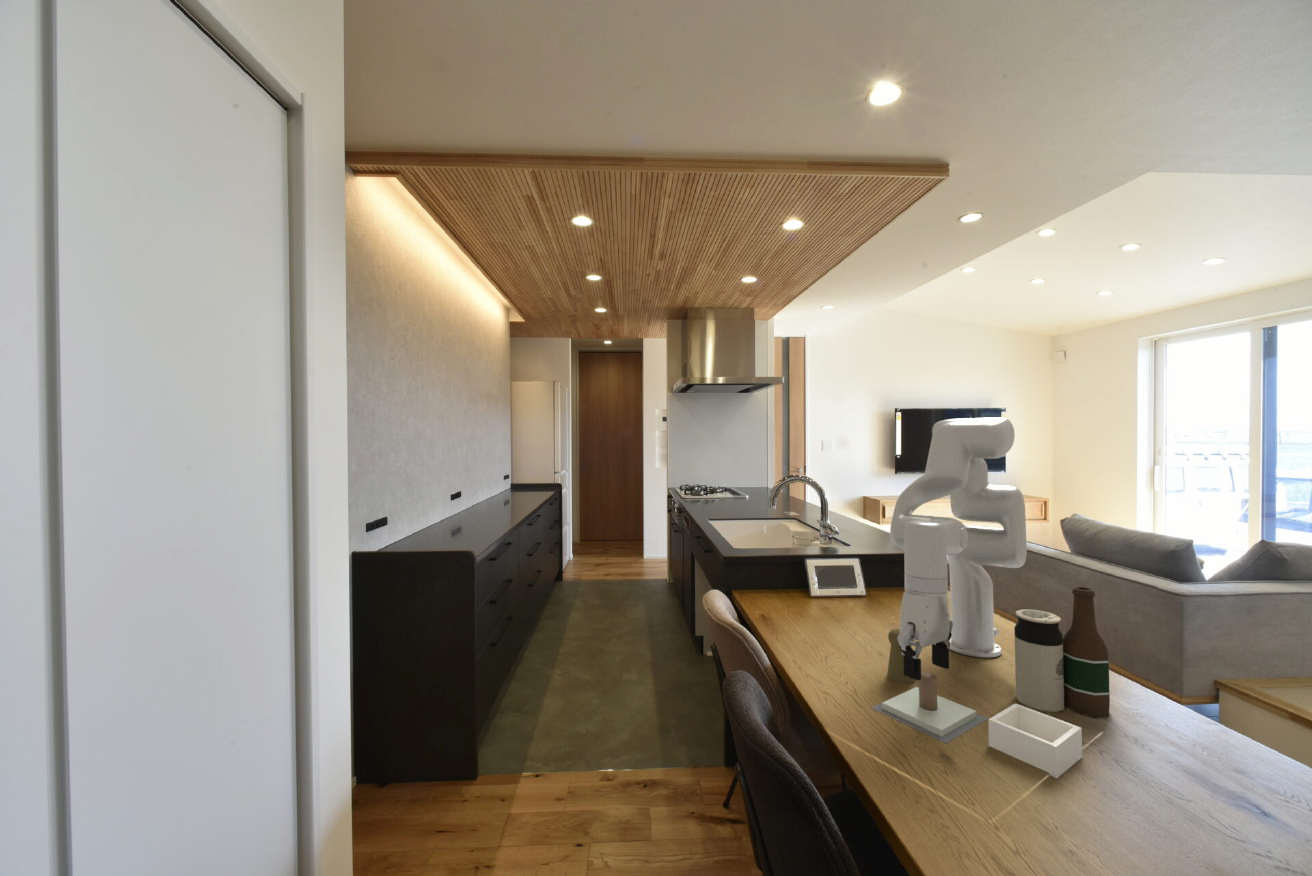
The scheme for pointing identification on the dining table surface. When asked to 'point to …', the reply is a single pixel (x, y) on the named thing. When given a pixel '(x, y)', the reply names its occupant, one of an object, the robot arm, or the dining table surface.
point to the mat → (944, 739)
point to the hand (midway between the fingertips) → (926, 671)
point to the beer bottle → (1085, 660)
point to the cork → (896, 660)
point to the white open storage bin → (1036, 739)
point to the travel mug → (1039, 660)
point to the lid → (929, 708)
